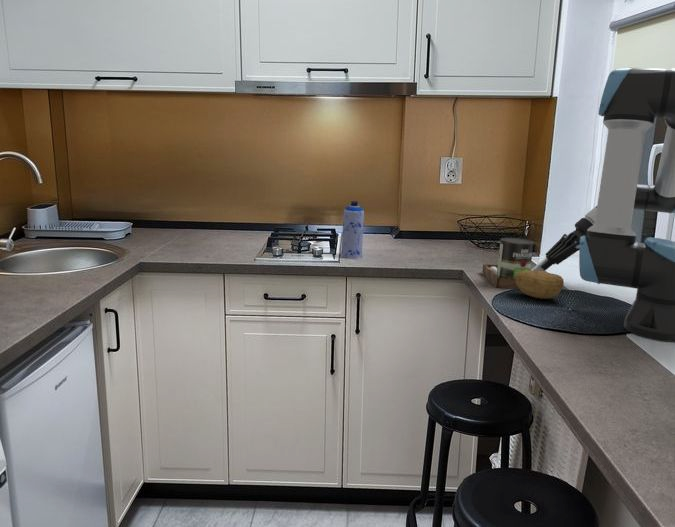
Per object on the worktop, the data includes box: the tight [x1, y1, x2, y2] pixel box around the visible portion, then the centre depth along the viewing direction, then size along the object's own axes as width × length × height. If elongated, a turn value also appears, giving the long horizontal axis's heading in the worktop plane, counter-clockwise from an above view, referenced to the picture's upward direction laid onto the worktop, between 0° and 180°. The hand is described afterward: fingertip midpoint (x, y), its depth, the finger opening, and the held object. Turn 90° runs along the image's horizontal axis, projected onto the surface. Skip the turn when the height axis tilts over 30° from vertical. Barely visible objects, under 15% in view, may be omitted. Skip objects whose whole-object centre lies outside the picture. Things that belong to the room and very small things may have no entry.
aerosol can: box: [340, 200, 365, 260], centre depth 225 cm, size 8×8×20 cm
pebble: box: [490, 266, 497, 275], centre depth 210 cm, size 3×3×3 cm
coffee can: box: [496, 237, 535, 279], centre depth 199 cm, size 10×10×14 cm
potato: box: [515, 269, 565, 300], centre depth 185 cm, size 10×14×8 cm
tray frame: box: [482, 263, 520, 290], centre depth 204 cm, size 19×14×3 cm
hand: (533, 274), depth 201 cm, fingers closed
